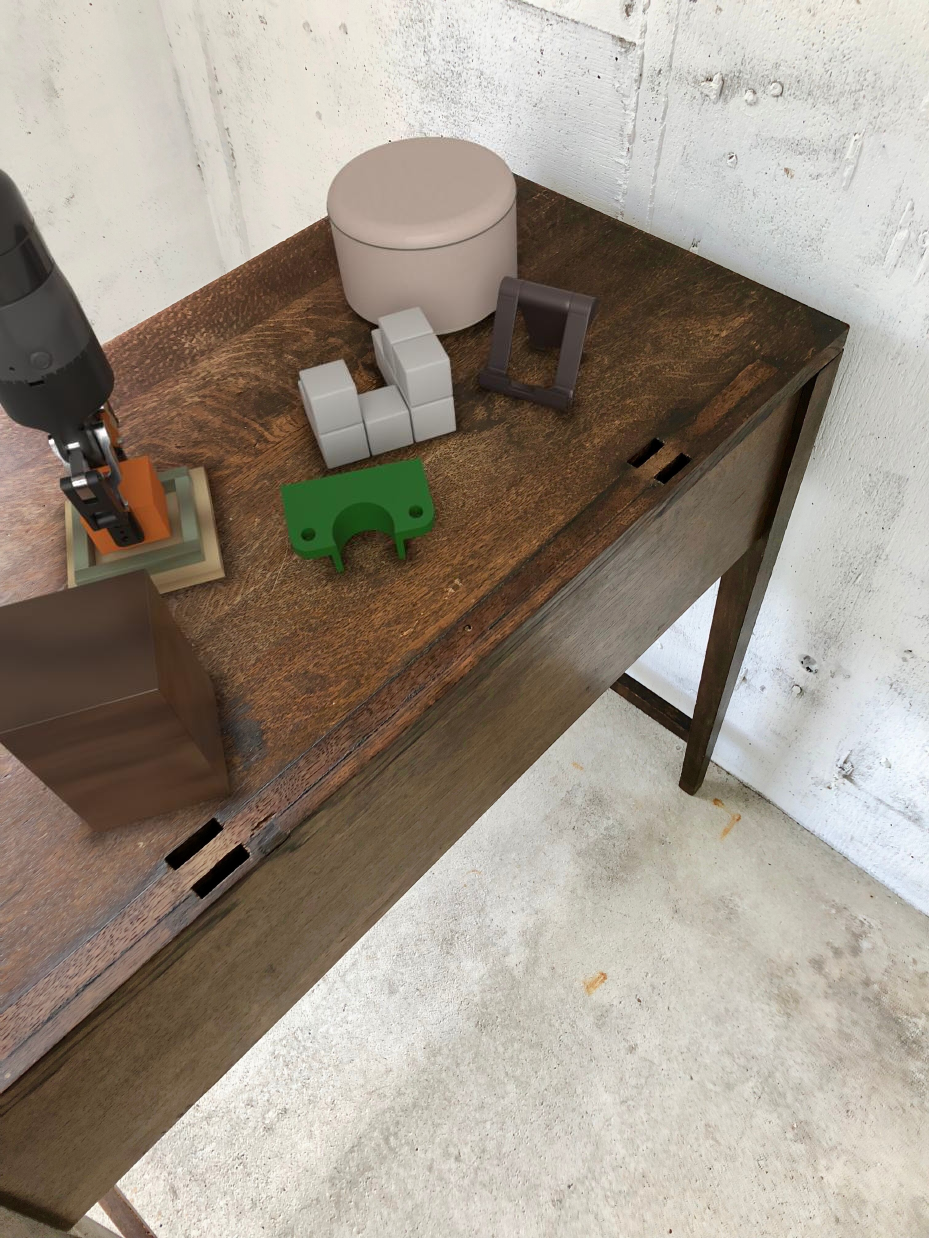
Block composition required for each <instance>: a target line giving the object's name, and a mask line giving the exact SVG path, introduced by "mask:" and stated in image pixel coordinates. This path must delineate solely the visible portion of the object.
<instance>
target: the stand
mask: <svg viewBox="0 0 929 1238" xmlns="http://www.w3.org/2000/svg"><path fill="white" fill-rule="evenodd" d="M169 608H170V607H168V605H167V603H166V602H165V600H164V598H163V597H162V594H160V593H159V591H158V589H157V588H156V586H155V584H154V583H153V581H152V579H151V577H150V576H149V574H148V572H147V571H146V569H140V570H136V571H133V572H129V573H125V574H121V575H118V576H114V577H110V578H106V579H103V580H99V581H95V582H91V583H87V584H84V585H80V586H76V587H72V588H69V589H68V588H66V589H62V590H58V591H54V592H51V593H47V594H43V595H39V596H34V597H32V598H31V597H30V598H27V599H24V600H20V601H16V602H13V603H9V604H4V605H1V606H0V745H1V746H3V747H4V748H5V749H6V751H8V752H9V753H10V754H11V755H12V756H13V757H15V758H16V759H17V760H18V761H19V762H20V763H21V765H23V766H24V767H25V768H26V769H27V770H29V771H30V772H31V773H32V774H33V775H34V776H35V777H36V778H37V779H38V780H40V781H41V782H42V783H43V784H44V785H45V786H46V787H47V788H48V789H50V791H51V792H52V793H54V794H55V795H56V796H57V797H58V798H59V799H60V800H61V801H62V802H63V803H64V804H65V805H66V806H68V807H69V808H70V809H71V810H72V811H73V812H74V813H75V814H76V815H77V816H78V817H80V819H82V820H83V821H84V822H85V823H86V824H87V825H88V826H89V827H90V828H91V829H92V830H94V832H96V833H97V834H101V833H103V832H107V831H109V830H114V829H116V828H120V827H123V826H126V825H130V824H134V823H136V822H140V821H143V820H147V819H149V818H150V819H151V818H153V817H156V816H160V815H163V814H166V813H170V812H173V811H177V810H180V809H183V808H187V807H191V806H193V805H197V804H201V803H203V802H207V801H210V800H214V799H217V798H220V797H224V796H227V795H230V793H231V789H230V783H229V776H228V769H227V763H226V756H225V750H224V749H225V748H224V743H223V736H222V730H221V724H220V717H219V711H218V703H217V698H216V692H215V691H216V690H215V686H214V684H213V682H212V680H211V678H210V677H209V675H208V674H207V671H206V670H205V669H204V666H203V665H202V663H201V662H200V660H199V658H198V657H197V654H196V653H195V651H194V649H193V648H192V646H191V645H190V643H189V641H188V639H187V637H186V636H185V634H184V632H183V630H182V629H181V627H180V626H179V624H178V622H177V620H176V618H175V617H174V615H173V613H172V612H171V610H170V609H169Z"/></svg>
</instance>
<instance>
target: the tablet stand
mask: <svg viewBox="0 0 929 1238" xmlns="http://www.w3.org/2000/svg"><path fill="white" fill-rule="evenodd" d="M519 309H520V311H521V316H522V319H523V322H524V325H525V328H526V332H527V336H528V339H529V341H530V344H531V347H532V348H533V349H534V350H537V351H540V352H544V353H546V351H547V347H550V348H554V349H556V350H557V349H558V350H559V351H560V353H559V357H558V363H557V369H556V373H555V379H554V384H553V387H552V389H549V388H545V387H542V386H539V385H535V386H532V385H529V384H526V383H522V382H519V381H515V380H512V378H510V377H508V372H509V371H508V370H509V363H510V358H511V351H512V345H513V339H514V332H515V327H516V320H517V313H518V310H519ZM598 309H599V299H598V297H595V296H591V295H586V294H583V293H578V292H574V291H570V290H566V289H563V288H557V287H554V286H551V285H550V286H549V285H546V284H542V283H537V282H533V281H530V280H525V279H521V278H518V277H517V278H513V277H509V276H505V277H504V278H503V279H502V281H501V283H500V287H499V293H498V299H497V306H496V310H495V312H494V313H495V314H494V320H493V328H492V335H491V342H490V348H489V356H488V363H487V367H486V371H485V370H482V369H481V370H479V372H478V386H479V387H480V388H481V389H485V390H489V391H490V392H496V393H499V394H501V395H505V396H509V397H511V398H512V397H513V398H516V399H519V400H523V401H526V402H530V403H533V404H536V405H540V406H543V407H547V408H551V409H553V410H555V411H561V412H564V413H567V412H569V411H570V409H571V407H572V404H573V401H574V396H575V391H576V387H577V383H578V382H577V381H578V376H579V370H580V366H581V363H582V362H581V361H582V357H583V351H584V346H585V341H586V337H587V332H588V328H589V326H590V325H591V324H592V323H593V322H594V321H595V318H596V316H597V313H598Z"/></svg>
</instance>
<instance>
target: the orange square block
mask: <svg viewBox="0 0 929 1238" xmlns="http://www.w3.org/2000/svg"><path fill="white" fill-rule="evenodd" d="M119 464H120V466H121V469H122V471H123V477H122V481H121V483H120V484H121V487H122V489H123V492H124V494H125V496H126V499H127V500H128V501H129V504H130V507H131V509H132V511H133V513H134V515H135V516H136V518H137V520H138V522H139V524H140V525H141V527H142V529H143V531H144V536H145V540H144V541H143V542H142V543H138V544H134V545H131V546H127V547H118V546H117V545H116V544H115V542H114V540H113V539H112V537H111V535H110V534H109V532H108V530H107V529H106V528H105V529H101V530H99V531H95V532H94V531H93V530H92V529H91V528H90V526H89V525H88V524H87V522H86V521H85V520H84V519H83V517H82V516H81V523H82V524H83V526H84V527H85V529H86V531H87V532H88V534H89V535H90V537H91V538H92V540H93V542H94V543H95V545H96V546H97V548H98V550H99V551H100V553H101V554H102V555H104V554H108V553H112V552H116V551H119V550H123V549H127V548H131V547H135V546H138V545H142V544H146V543H150V542H154V541H158V540H161V539H165V538H169V537H171V534H170V527H169V520H168V512H167V505H166V498H165V491H164V488H163V486H162V484H161V482H160V480H159V478H158V476H157V474H156V473H157V471H156V470H155V468H154V466H153V464H152V462H151V460H150V458H149V456H148V454H147V455H143V456H139V457H135V458H130V459H128V460H126V461H123V462H119ZM94 470H95V469H94ZM98 471H99V472H100V473H103V472H107V471H110V468H109V465H107V466H104V467H101V468H98ZM111 490H112V489H111Z"/></svg>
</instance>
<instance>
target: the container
mask: <svg viewBox="0 0 929 1238" xmlns="http://www.w3.org/2000/svg"><path fill="white" fill-rule="evenodd" d="M517 194H518V188H517V183H516V179H515V177H514V174H513V171H512V170H511V168H510V166H509V165H508V164H507V163H506V161H505V159H503V158H502V157H501V156H500V155H499V154H497V153H495V152H494V151H493V150H491V149H489V148H487V147H485V146H483V145H481V144H478V143H476V142H472V141H469V140H466V139H461V138H456V137H447V136H418V137H409V138H404V139H399V140H395V141H391V142H387V143H383V144H381V145H377V146H376V147H373V148H371V149H368V150H366V151H364V152H362V153H360V154H359V155H357V156H355V157H354V158H352V159H351V160H350V161H349V162H347V163H346V164H344V166H343V167H342V168H340V170H339V171H338V173H337V174H336V175H335V176H334V178H333V179H332V181H331V183H330V186H329V188H328V191H327V197H326V212H327V216H328V218H329V223H330V228H331V233H332V239H333V244H334V249H335V253H336V254H335V255H336V259H337V263H338V268H339V274H340V278H341V283H342V287H343V292H344V297H345V299H346V301H347V303H348V304H349V306H350V307H351V308H352V310H353V311H354V312H355V313H356V314H358V315H359V316H360V317H361V318H363V319H364V320H366V321H368V322H370V323H372V324H374V325H377V326H379V323H378V318H379V317H383V316H386V315H390V314H393V313H397V312H401V311H404V310H408V309H411V308H415V307H420V308H421V310H422V312H423V314H424V315H425V317H426V319H427V321H428V322H429V324H430V326H431V328H432V329H433V331H434V334H435V335H436V336H440V335H445V334H451V333H455V332H457V331H461V330H464V329H467V328H469V327H471V326H473V325H475V324H477V323H479V322H481V321H482V320H483V319H485V318H486V317H488V316H489V315H490V314H491V313H493V312H496V306H497V299H498V293H499V287H500V283H501V281H502V279H503V278H504V277H505V276H509V277H513V278H517V279H518V235H517V234H518V233H517V230H518V229H517V196H518V195H517Z"/></svg>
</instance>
